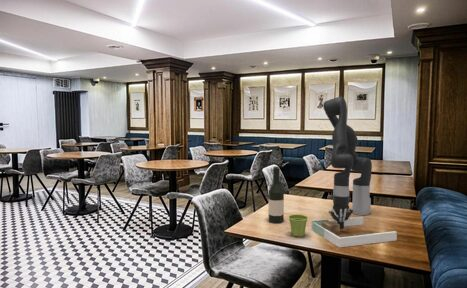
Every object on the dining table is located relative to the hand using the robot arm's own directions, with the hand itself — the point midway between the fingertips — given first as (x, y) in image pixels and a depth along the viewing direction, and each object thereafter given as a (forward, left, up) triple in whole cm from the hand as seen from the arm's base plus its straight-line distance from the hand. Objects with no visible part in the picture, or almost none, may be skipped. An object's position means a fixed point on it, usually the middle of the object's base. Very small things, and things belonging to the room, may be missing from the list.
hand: (340, 228), depth 156 cm
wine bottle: (+24, -24, -2) cm, 34 cm away
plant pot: (+22, -2, -2) cm, 22 cm away
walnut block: (+5, 0, -2) cm, 6 cm away
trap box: (-3, +5, -2) cm, 6 cm away
